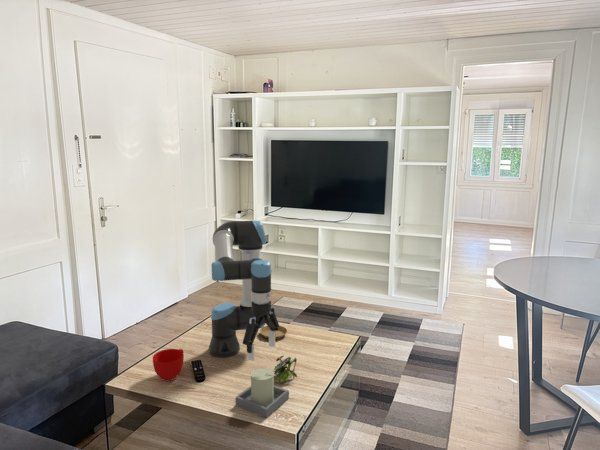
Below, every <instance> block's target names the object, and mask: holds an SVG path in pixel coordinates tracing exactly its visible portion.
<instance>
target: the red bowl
mask: <svg viewBox="0 0 600 450" xmlns="http://www.w3.org/2000/svg"><path fill="white" fill-rule="evenodd" d="M184 360H185V359H184V349H183V348H179V349H178V348H167V349H163V350H159V351H158V352H156V353H155V354H153V356H152V366H153V369H154V372H155V374H156V375H157V376H158V377H159V378H160V379H163V381H165V380H169V381H172V379H173V380H175V379H176V378H178V376H179V375H180V373H181V372H182V369H183V366H184ZM174 378H175V379H174Z"/></svg>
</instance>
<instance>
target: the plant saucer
mask: <svg viewBox="0 0 600 450" xmlns="http://www.w3.org/2000/svg"><path fill="white" fill-rule="evenodd" d="M277 328H278V331H276V334H275V335H276V336H275V340H278V339H282V338H283V337H284V336H286V334H287V332H288V329H287V328H286V327H284V326H282V325H279V327H277ZM269 330H271V329H270V328H269V327H268V326H267V325H264V327H263V328H260V329H259V333H260V334H261V336H263V337H264V338H265V339H267V338H268V340H269Z"/></svg>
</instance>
